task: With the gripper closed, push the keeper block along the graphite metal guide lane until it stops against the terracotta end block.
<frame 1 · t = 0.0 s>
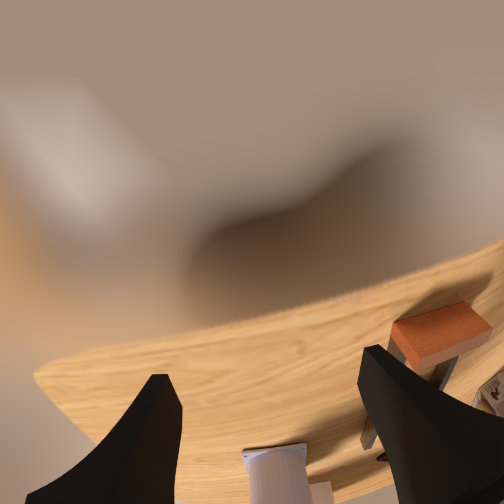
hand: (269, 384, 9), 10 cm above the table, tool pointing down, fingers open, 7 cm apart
coffee box: (484, 392, 31), on the table
milk: (290, 494, 37), on the table
guide lane: (410, 380, 25), on the table
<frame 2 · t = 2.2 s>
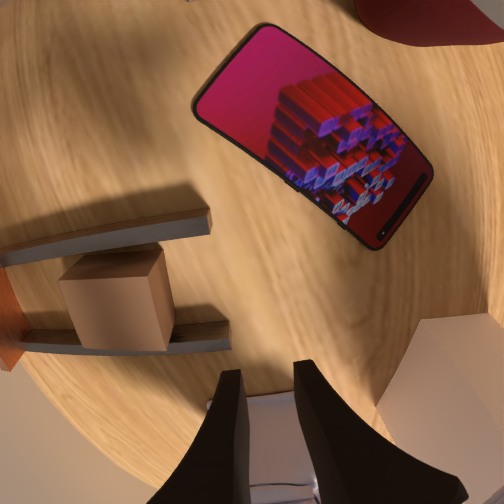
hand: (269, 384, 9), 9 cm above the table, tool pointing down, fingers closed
smartphone: (326, 137, 16), on the table
milk: (435, 361, 24), on the table
guide lane: (78, 291, 18), on the table
keeper: (129, 285, 18), resting in guide lane
mug: (388, 9, 12), on the table
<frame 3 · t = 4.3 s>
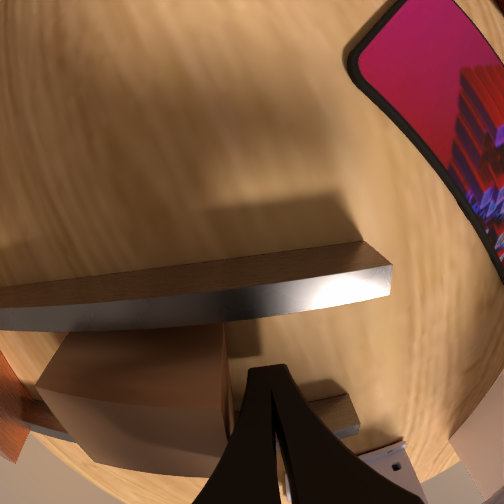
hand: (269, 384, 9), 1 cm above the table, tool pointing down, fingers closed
smartphone: (489, 146, 9), on the table
guide lane: (105, 368, 11), on the table
keeper: (158, 368, 11), resting in guide lane, touching gripper
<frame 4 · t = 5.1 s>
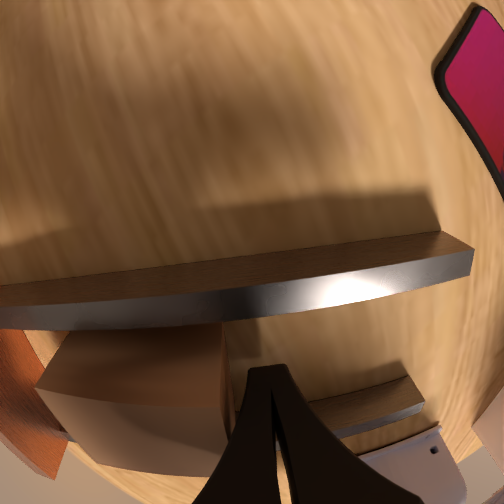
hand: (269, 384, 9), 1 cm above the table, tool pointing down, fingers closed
guide lane: (179, 366, 11), on the table
keeper: (158, 367, 11), resting in guide lane, touching gripper
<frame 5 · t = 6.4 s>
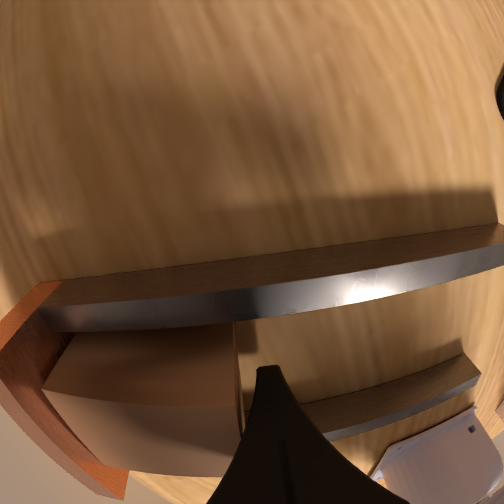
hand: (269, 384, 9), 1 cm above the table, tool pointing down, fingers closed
guide lane: (284, 356, 11), on the table
keeper: (166, 367, 11), resting in guide lane, touching gripper
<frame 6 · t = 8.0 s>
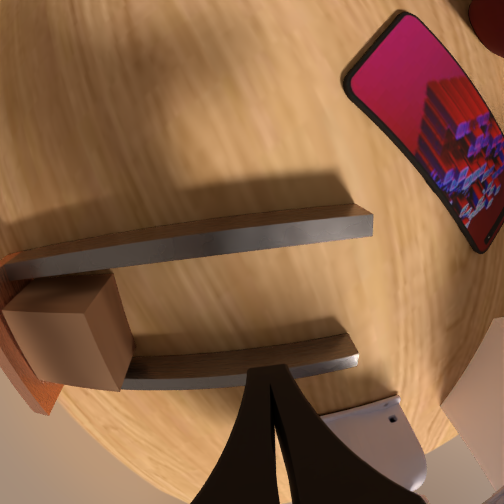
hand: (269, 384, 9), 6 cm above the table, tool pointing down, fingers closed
smartphone: (454, 139, 13), on the table
milk: (492, 357, 21), on the table
guide lane: (152, 308, 15), on the table
keeper: (83, 311, 15), resting in guide lane
mug: (487, 23, 8), on the table
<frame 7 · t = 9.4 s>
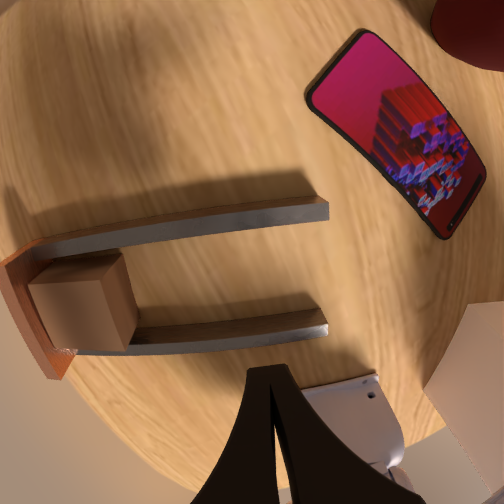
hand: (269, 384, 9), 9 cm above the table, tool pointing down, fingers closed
smartphone: (411, 138, 16), on the table
milk: (473, 344, 24), on the table
guide lane: (155, 283, 18), on the table
keeper: (96, 288, 18), resting in guide lane
mug: (452, 30, 12), on the table
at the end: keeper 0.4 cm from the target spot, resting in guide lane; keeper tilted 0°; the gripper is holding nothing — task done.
